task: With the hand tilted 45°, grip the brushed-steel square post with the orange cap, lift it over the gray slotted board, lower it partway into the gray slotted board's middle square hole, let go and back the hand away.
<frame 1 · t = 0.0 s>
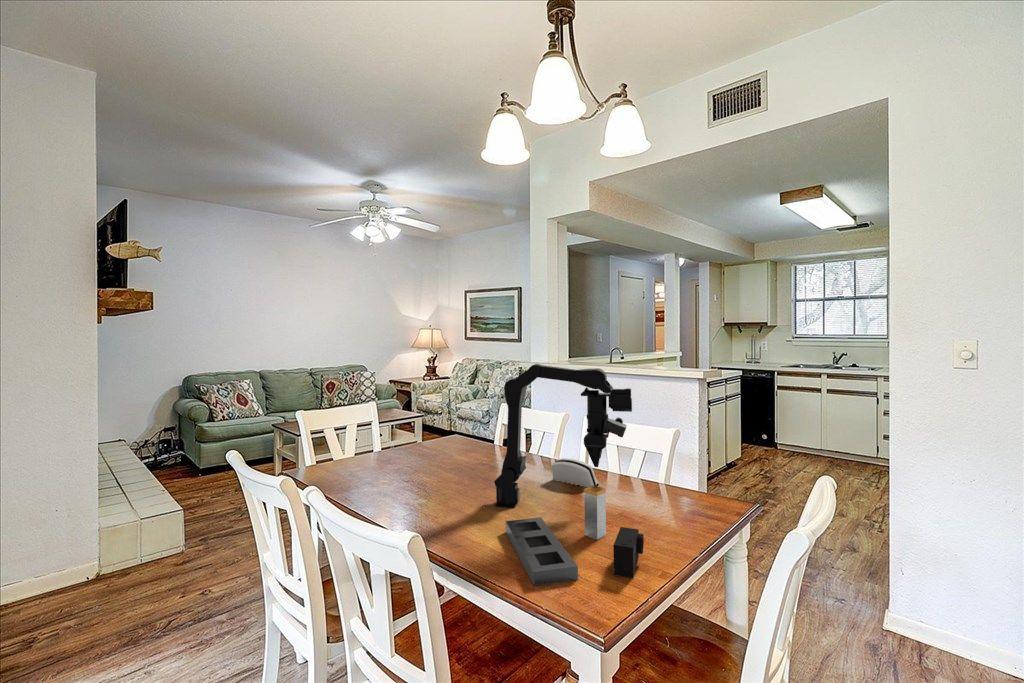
hand: (597, 462, 142), 15 cm above the table, tool pointing down, fingers open, 9 cm apart
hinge: (573, 484, 168), on the table
steel post: (595, 535, 126), on the table
gray slotted board: (538, 553, 116), on the table
digital camera: (629, 567, 109), on the table
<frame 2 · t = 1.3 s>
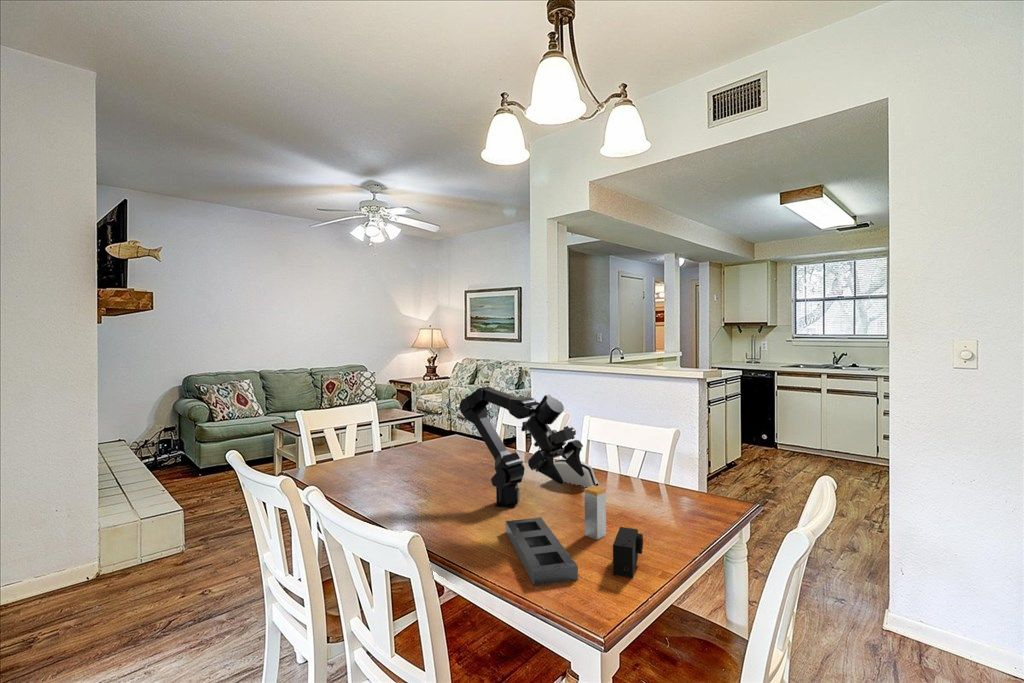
hand: (573, 479, 131), 13 cm above the table, tool tilted 45°, fingers open, 9 cm apart
nothing on the table moved.
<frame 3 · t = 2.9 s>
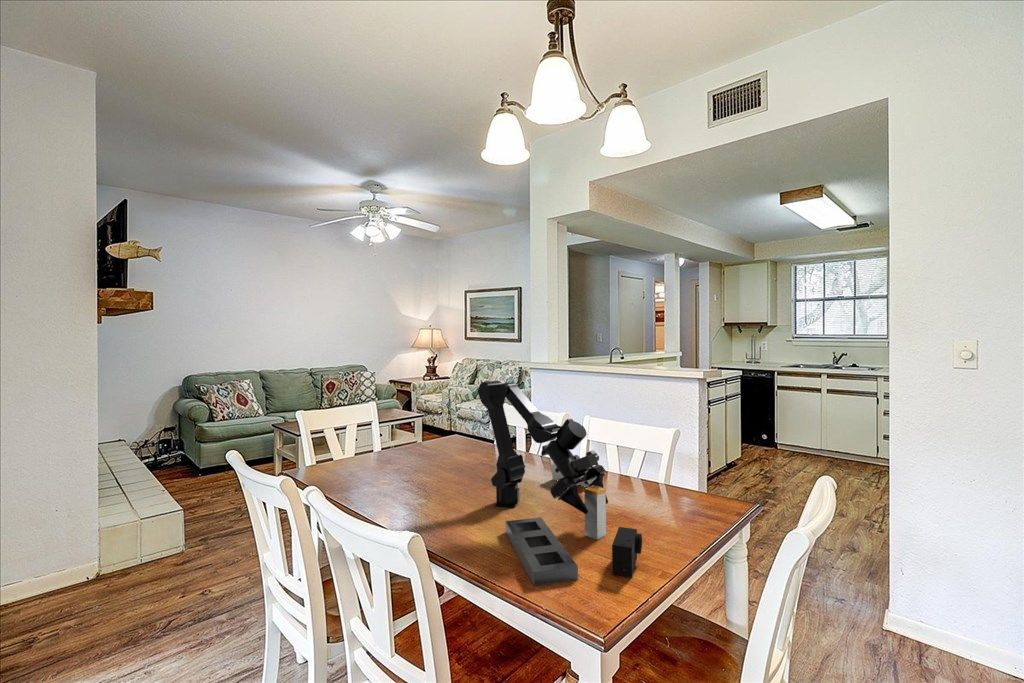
hand: (597, 508, 125), 7 cm above the table, tool tilted 45°, fingers open, 9 cm apart
nothing on the table moved.
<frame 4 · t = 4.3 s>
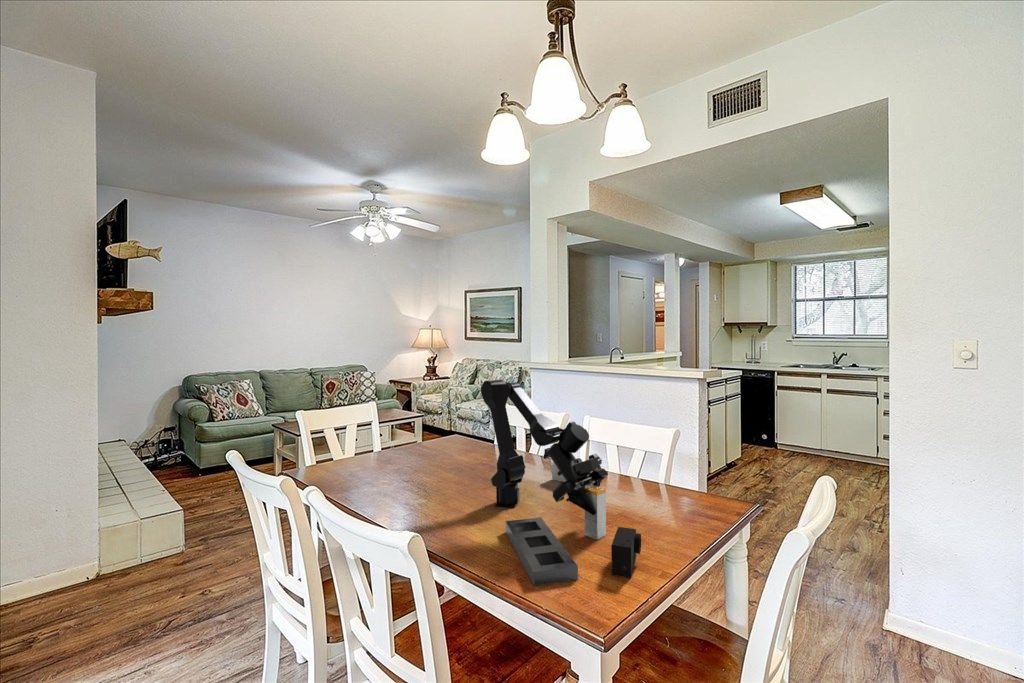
hand: (599, 511, 125), 7 cm above the table, tool tilted 45°, fingers closed on steel post, 4 cm apart
steel post: (595, 535, 126), on the table, touching gripper
everything else where it was.
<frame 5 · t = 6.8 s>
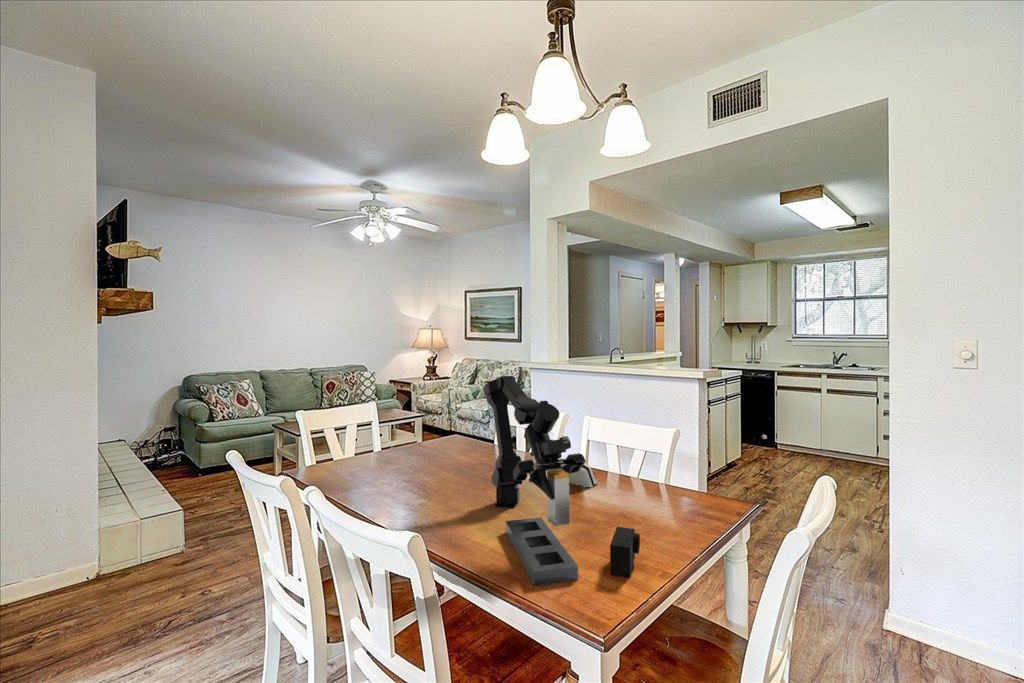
hand: (560, 497, 117), 13 cm above the table, tool tilted 45°, fingers closed on steel post, 4 cm apart
steel post: (558, 522, 118), point 7 cm above the table, touching gripper
everything else where it was.
when the fingers open (7 cm above the table, at t = 9.7 s): steel post stays where it is, resting in gray slotted board.
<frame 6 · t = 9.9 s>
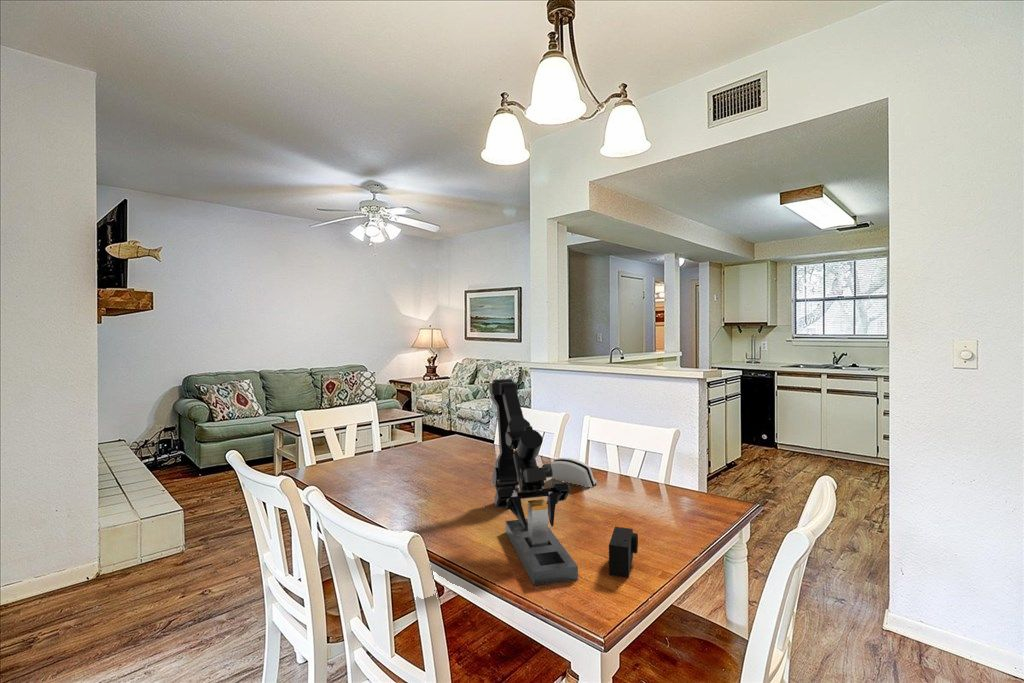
hand: (539, 527, 115), 7 cm above the table, tool tilted 45°, fingers open, 6 cm apart
steel post: (538, 553, 116), resting in gray slotted board
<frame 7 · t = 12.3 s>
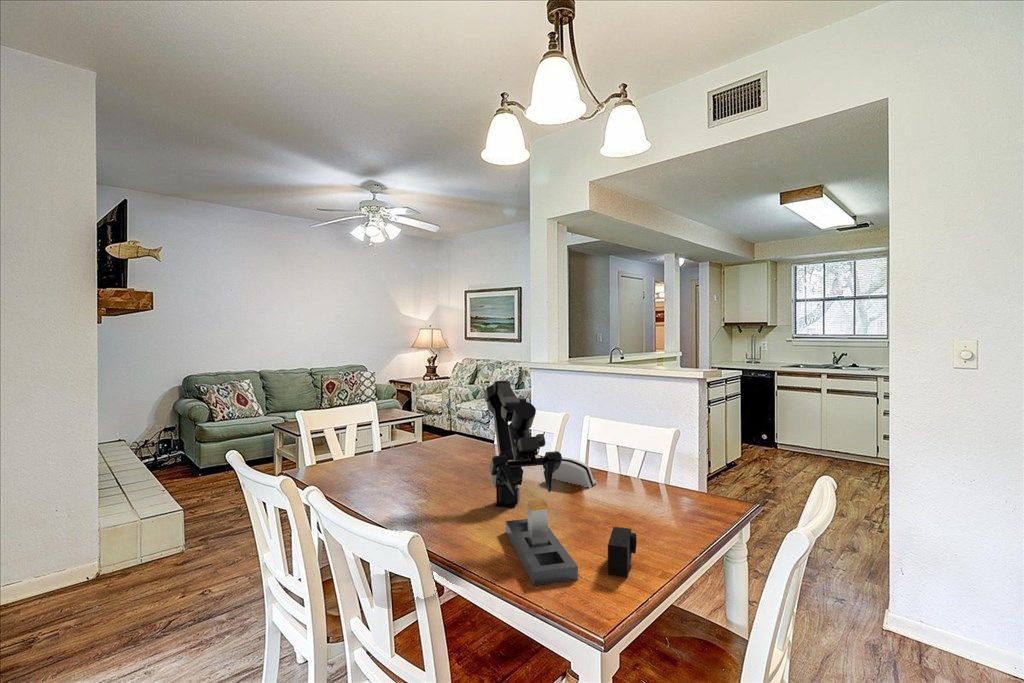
hand: (532, 493, 120), 13 cm above the table, tool tilted 45°, fingers open, 9 cm apart
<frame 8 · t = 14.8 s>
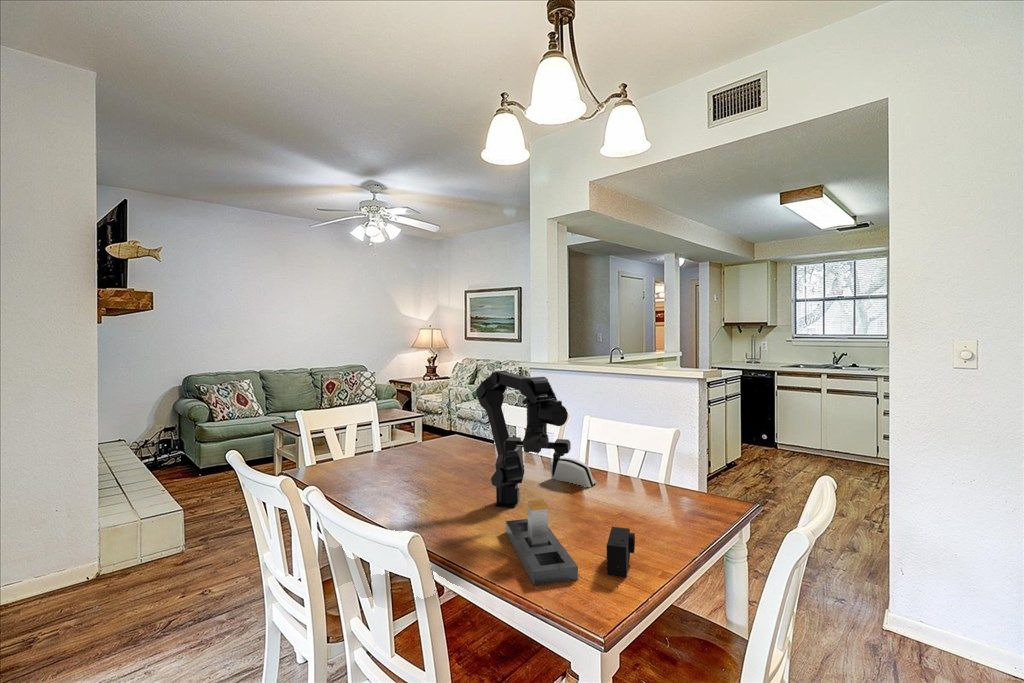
hand: (537, 474, 137), 13 cm above the table, tool pointing down, fingers open, 9 cm apart
at the end: steel post 0.0 cm off-centre on the gray slotted board, point 0.0 cm above the gray slotted board's base; steel post tilted 0°; the gripper is holding nothing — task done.
